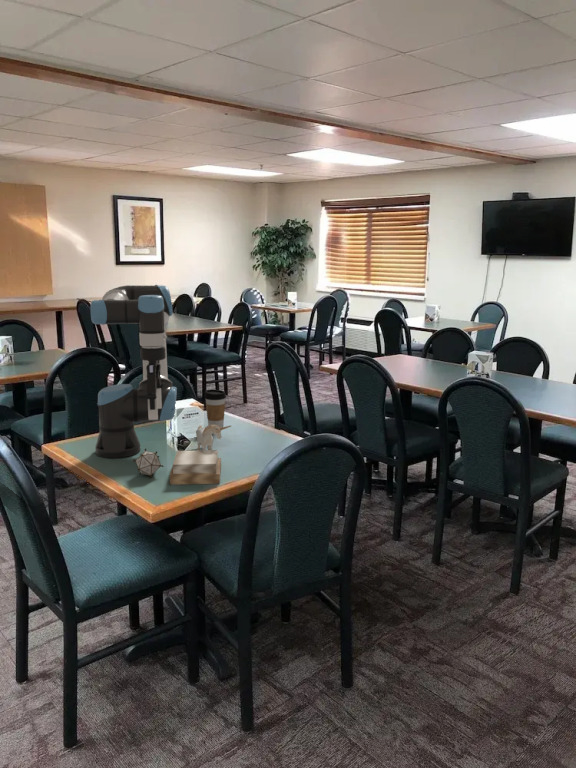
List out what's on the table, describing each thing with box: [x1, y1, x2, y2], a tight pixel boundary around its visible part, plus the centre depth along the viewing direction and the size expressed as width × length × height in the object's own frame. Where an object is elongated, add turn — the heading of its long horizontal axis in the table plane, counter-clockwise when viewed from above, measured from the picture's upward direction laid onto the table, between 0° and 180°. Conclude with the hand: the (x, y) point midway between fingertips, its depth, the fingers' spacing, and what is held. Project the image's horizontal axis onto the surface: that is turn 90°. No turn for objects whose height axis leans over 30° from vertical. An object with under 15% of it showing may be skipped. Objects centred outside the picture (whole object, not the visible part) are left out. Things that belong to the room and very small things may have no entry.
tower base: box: [169, 449, 222, 486], centre depth 195 cm, size 15×15×6 cm
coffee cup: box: [204, 388, 227, 428], centre depth 246 cm, size 8×8×15 cm
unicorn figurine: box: [195, 424, 232, 451], centre depth 210 cm, size 7×20×13 cm, turn 37°
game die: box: [132, 448, 164, 479], centre depth 195 cm, size 9×8×10 cm
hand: (155, 413), depth 194 cm, fingers open, 13 cm apart
